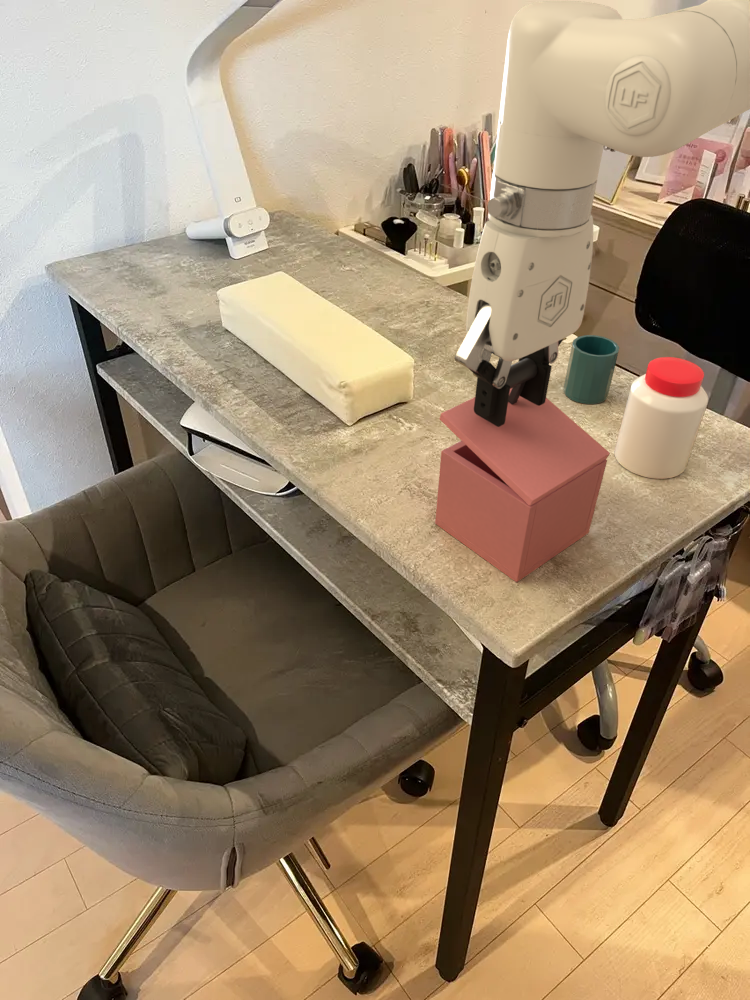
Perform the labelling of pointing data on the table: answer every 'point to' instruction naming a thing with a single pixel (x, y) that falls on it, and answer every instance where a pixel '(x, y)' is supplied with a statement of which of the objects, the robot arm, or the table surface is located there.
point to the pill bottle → (662, 419)
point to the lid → (527, 440)
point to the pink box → (511, 513)
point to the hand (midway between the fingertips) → (509, 406)
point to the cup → (590, 369)
